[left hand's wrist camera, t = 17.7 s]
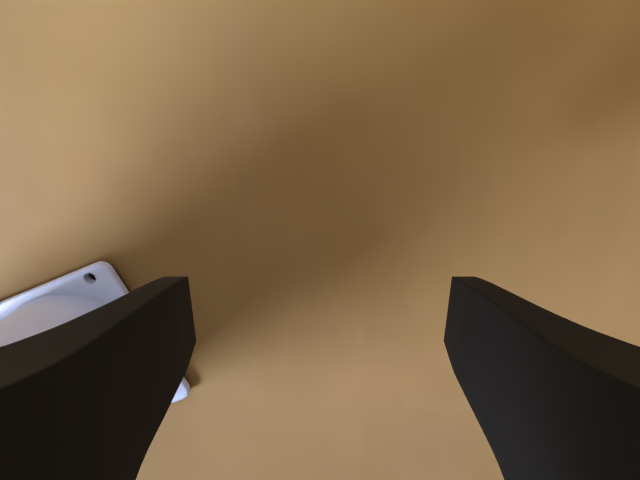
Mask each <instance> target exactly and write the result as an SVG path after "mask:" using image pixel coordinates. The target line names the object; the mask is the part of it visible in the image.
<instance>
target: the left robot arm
mask: <svg viewBox="0 0 640 480" xmlns="http://www.w3.org/2000/svg"><path fill="white" fill-rule="evenodd" d="M89 273H91V274H93V275H94V276H95V278H96V280H94V279H92V278H90V276H89ZM195 343H196V336H195V328H194V320H193V313H192V305H191V297H190V289H189V281H188V277H163V278H160V279H157V280H155V281H153V282H150V283H148V284H146V285H144V286H142V287H140V288H138V289H136V290H134V291H132V292H130V293H129V291H128V290H127V288H126V287H125V285H124V284H123V282H122V281H121V279H120V278H119V276H118V274H117V273H116V271H115V270H114V268H113V267H112V266H111V265H110V264H109V263H107V262H104V261H99V262H96V263H93V264H91V265H88V266H86V267H83V268H81V269H79V270H76V271H74V272H71V273H69V274H67V275H64V276H62V277H59V278H57V279H54V280H52V281H50V282H47V283H45V284H42V285H40V286H37V287H35V288H33V289H30V290H28V291H25V292H23V293H20V294H18V295H16V296H13V297H11V298H8V299H6V300H3V301H1V302H0V480H136V477H137V474H138V472H139V469H140V466H141V464H142V462H143V459H144V457H145V455H146V453H147V450H148V448H149V446H150V444H151V442H152V440H153V438H154V436H155V434H156V432H157V430H158V428H159V426H160V424H161V422H162V420H163V418H164V416H165V414H166V412H167V410H168V408H169V406H170V404H171V403H173V402H176V401H178V400H181V399H184V398H186V397H187V395H188V393H189V391H190V386H189V383H188V382H187V380H186V379H185V377H184V375H185V373H186V371H187V368H188V365H189V362H190V359H191V356H192V352H193V349H194V346H195ZM444 343H445V346H446V349H447V353H448V356H449V359H450V362H451V365H452V368H453V371H454V373H455V375H456V377H457V380H458V382H459V384H460V386H461V388H462V390H463V392H464V394H465V396H466V398H467V400H468V402H469V404H470V406H471V408H472V410H473V412H474V414H475V416H476V418H477V420H478V422H479V424H480V426H481V428H482V430H483V432H484V434H485V436H486V438H487V440H488V442H489V444H490V446H491V448H492V451H493V453H494V455H495V457H496V459H497V462H498V464H499V466H500V469H501V472H502V474H503V477H504V480H640V347H639V346H636V345H632V344H630V343H627V342H624V341H621V340H618V339H616V338H613V337H610V336H607V335H605V334H602V333H599V332H597V331H594V330H592V329H589V328H586V327H584V326H582V325H579V324H577V323H575V322H572V321H570V320H568V319H565V318H563V317H561V316H559V315H556V314H554V313H552V312H550V311H548V310H546V309H543V308H541V307H539V306H537V305H535V304H533V303H531V302H529V301H527V300H525V299H523V298H521V297H519V296H517V295H515V294H513V293H511V292H509V291H507V290H505V289H503V288H501V287H499V286H496V285H494V284H492V283H490V282H488V281H485V280H483V279H480V278H477V277H452V281H451V289H450V297H449V305H448V312H447V320H446V328H445V336H444Z"/></svg>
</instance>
